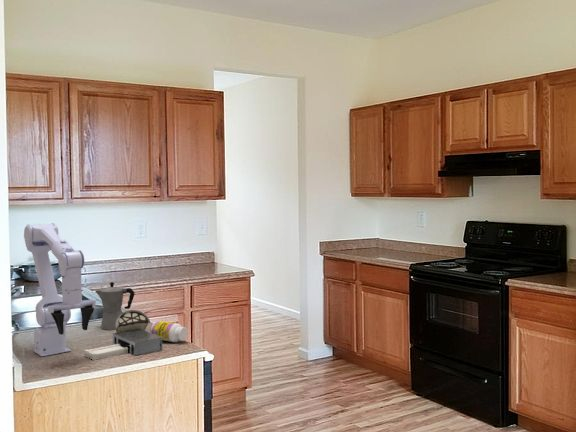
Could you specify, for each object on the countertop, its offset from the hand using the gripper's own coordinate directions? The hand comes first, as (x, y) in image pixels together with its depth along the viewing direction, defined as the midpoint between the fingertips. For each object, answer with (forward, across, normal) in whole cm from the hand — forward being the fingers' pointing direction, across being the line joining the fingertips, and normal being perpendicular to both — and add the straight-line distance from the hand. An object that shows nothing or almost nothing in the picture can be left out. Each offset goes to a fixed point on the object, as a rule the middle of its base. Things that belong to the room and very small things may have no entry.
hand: (73, 331), depth 182 cm
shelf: (+9, +22, -1) cm, 24 cm away
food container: (+8, +26, +14) cm, 30 cm away
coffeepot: (+10, +30, +32) cm, 45 cm away
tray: (+10, +11, 0) cm, 14 cm away
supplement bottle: (+6, +32, +5) cm, 34 cm away
